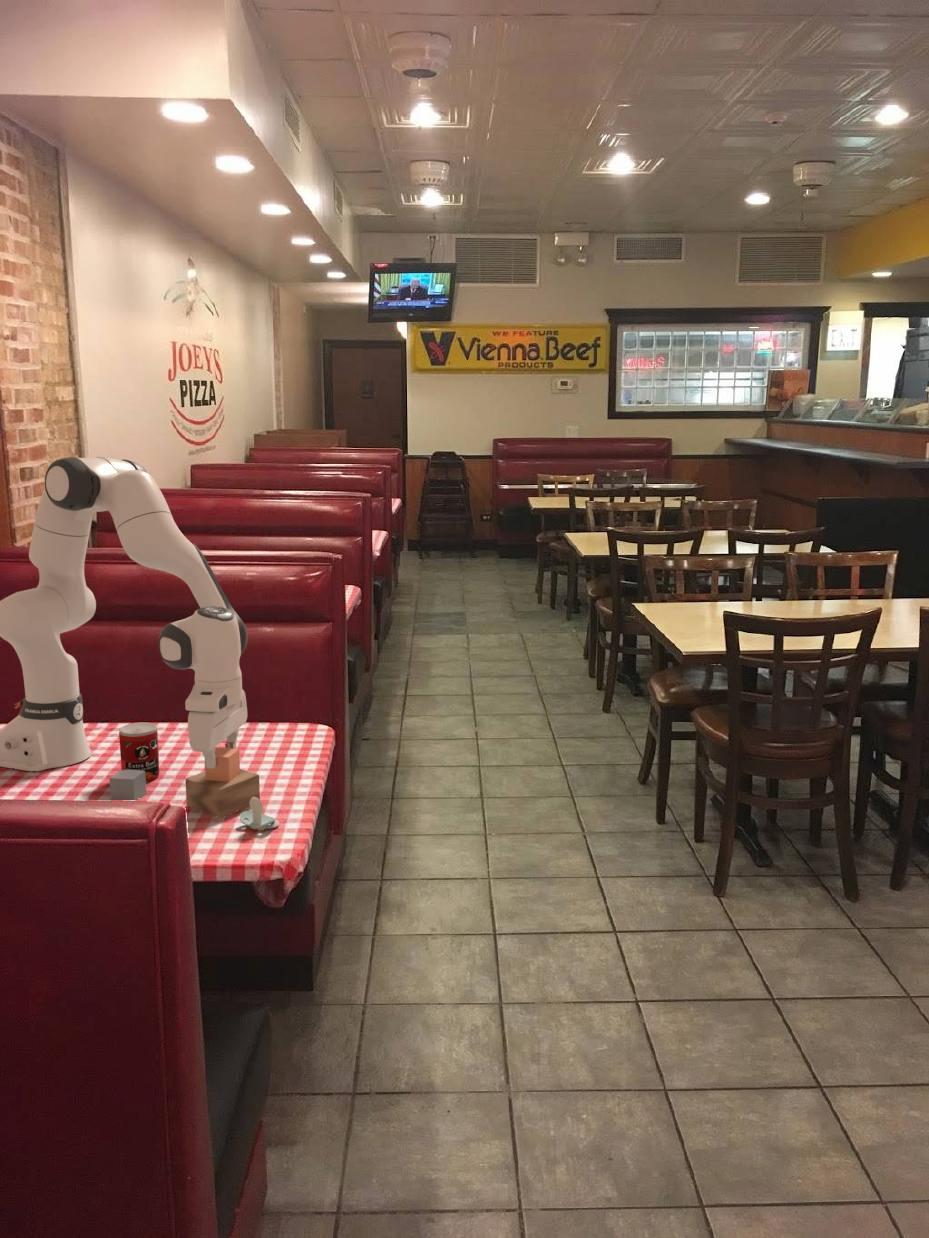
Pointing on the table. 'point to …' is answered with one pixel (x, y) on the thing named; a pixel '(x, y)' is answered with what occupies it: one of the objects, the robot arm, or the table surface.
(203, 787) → the walnut block
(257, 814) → the pacifier
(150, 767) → the canned food
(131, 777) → the gray metal cube
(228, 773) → the terracotta cube
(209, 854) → the table surface
